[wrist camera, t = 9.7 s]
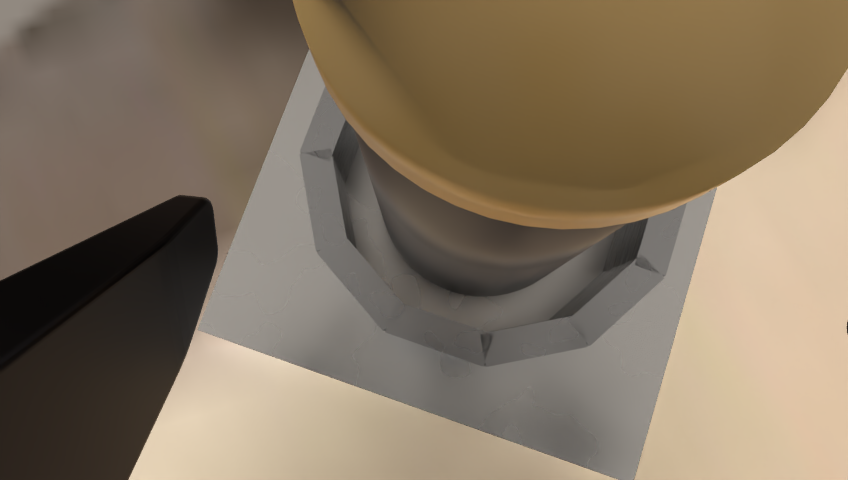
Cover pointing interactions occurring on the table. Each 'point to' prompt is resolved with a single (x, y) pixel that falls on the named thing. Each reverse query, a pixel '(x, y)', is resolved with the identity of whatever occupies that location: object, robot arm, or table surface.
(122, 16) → the table surface
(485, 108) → the grey cylindrical piece
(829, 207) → the table surface
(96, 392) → the robot arm
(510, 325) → the duct collar
